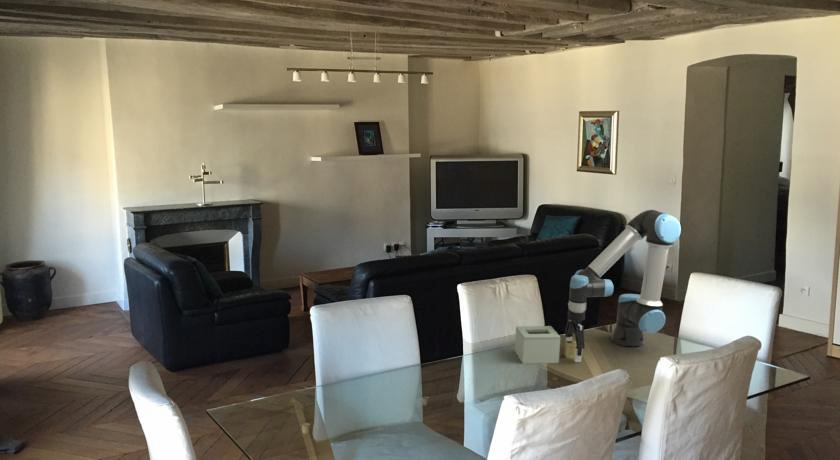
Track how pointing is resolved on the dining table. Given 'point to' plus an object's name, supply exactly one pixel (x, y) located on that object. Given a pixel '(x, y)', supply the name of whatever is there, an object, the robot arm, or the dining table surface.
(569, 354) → the tan wooden block
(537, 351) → the box
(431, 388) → the dining table surface
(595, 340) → the dining table surface
